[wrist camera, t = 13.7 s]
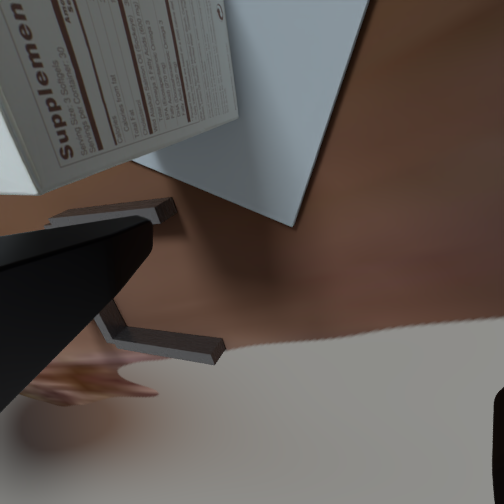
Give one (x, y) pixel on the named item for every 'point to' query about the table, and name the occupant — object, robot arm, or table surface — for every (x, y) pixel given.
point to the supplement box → (106, 84)
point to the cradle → (110, 317)
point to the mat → (271, 104)
